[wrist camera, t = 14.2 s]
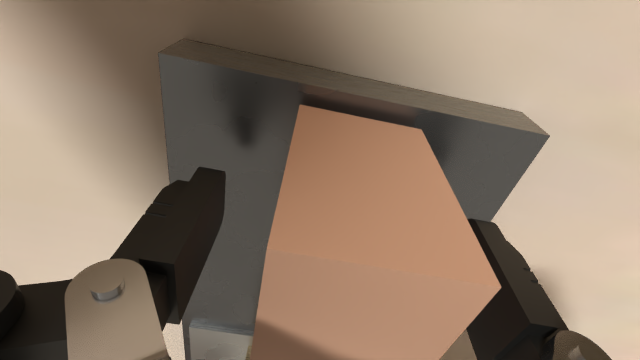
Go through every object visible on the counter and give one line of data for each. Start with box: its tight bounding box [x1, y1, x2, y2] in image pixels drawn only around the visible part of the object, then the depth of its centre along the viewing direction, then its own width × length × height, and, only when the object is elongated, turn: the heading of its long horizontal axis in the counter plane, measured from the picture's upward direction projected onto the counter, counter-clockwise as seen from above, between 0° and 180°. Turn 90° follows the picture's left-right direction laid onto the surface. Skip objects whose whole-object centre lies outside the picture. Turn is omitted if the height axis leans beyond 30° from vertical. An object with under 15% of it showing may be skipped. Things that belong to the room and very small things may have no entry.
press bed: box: [158, 39, 550, 360], centre depth 18 cm, size 24×13×2 cm, turn 169°
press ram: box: [250, 105, 501, 360], centre depth 9 cm, size 5×4×6 cm
